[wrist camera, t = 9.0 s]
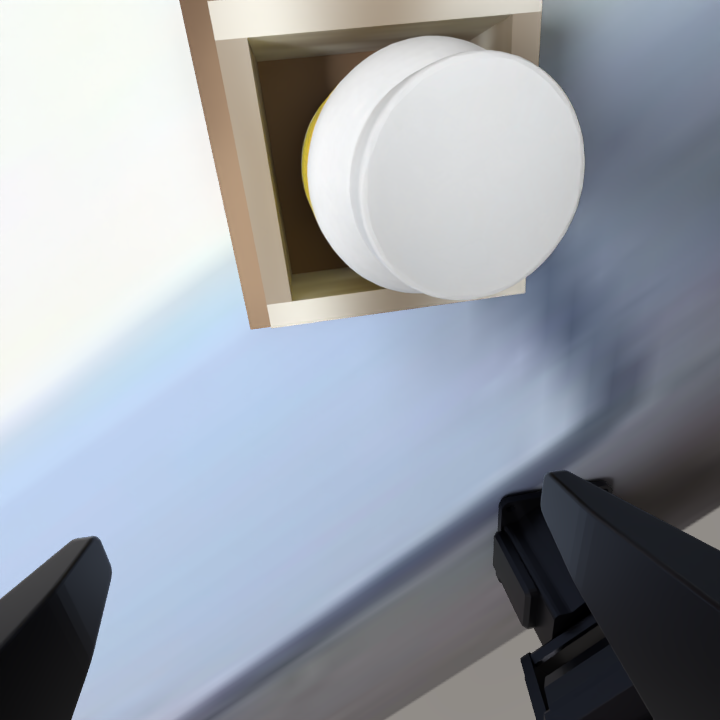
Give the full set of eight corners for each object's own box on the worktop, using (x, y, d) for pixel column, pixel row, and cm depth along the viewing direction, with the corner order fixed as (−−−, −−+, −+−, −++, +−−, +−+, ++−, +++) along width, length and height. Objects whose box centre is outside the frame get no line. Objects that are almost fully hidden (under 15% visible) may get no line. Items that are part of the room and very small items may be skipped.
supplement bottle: (352, 271, 18) (412, 387, 9) (268, 141, 16) (238, 127, 7) (472, 192, 17) (661, 234, 8) (402, 45, 15) (562, -108, 6)
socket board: (511, -26, 16) (593, -92, 11) (500, 285, 20) (555, 321, 16) (185, 1, 15) (141, -59, 10) (252, 319, 19) (241, 366, 15)
